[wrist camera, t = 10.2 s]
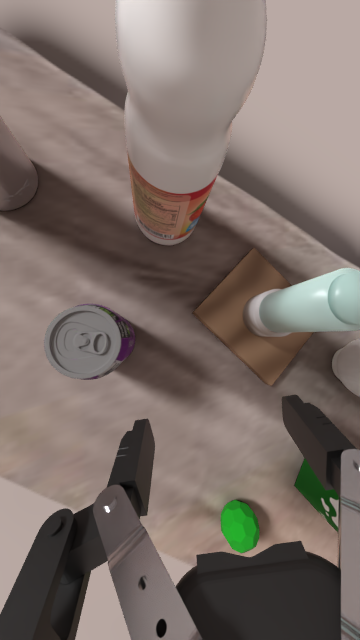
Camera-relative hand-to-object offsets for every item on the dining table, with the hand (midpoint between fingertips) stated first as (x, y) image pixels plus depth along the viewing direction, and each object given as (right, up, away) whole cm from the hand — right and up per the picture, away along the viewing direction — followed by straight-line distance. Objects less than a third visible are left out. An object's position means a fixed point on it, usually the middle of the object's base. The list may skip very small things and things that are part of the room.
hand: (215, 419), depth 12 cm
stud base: (+10, +6, +21) cm, 24 cm away
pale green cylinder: (+11, +7, +15) cm, 20 cm away
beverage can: (-12, +3, +17) cm, 21 cm away
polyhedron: (+6, -22, +18) cm, 29 cm away
